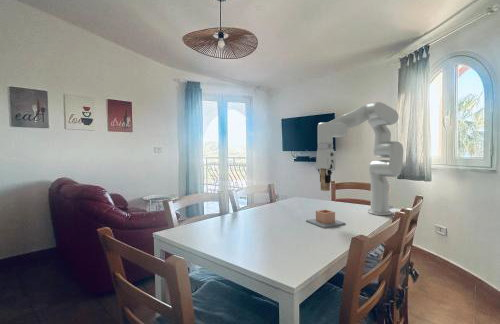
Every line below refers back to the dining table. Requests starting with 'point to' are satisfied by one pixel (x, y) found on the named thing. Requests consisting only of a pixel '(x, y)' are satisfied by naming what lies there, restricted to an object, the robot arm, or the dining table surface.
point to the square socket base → (325, 219)
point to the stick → (324, 185)
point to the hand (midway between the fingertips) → (325, 182)
